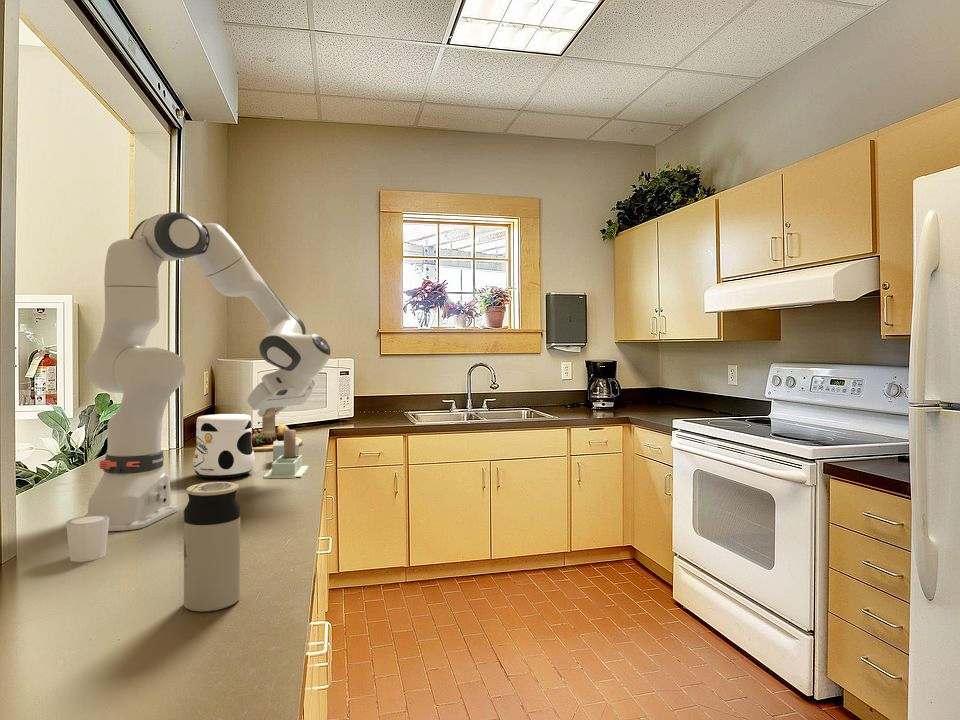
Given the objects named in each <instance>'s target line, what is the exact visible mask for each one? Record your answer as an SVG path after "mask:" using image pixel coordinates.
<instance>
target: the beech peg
mask: <svg viewBox="0 0 960 720" xmlns="http://www.w3.org/2000/svg"><path fill="white" fill-rule="evenodd" d="M266 412H267V414H266V415H265V416H262V417H261V418H262V419H261V420H262V423H261V425H262V437H275V432H276V415H275V408H268V410H266Z"/></svg>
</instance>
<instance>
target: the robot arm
mask: <svg viewBox="0 0 960 720" xmlns="http://www.w3.org/2000/svg"><path fill="white" fill-rule="evenodd" d="M105 258H106V259H105V264H104V276H103V277H104V279H103V280H104V282H103V283H104V284H103V285H104V323H103V329H102V332H101V335H100V336H101V337H100V339H99V342H98V345H97V347H96V348H95V350H94V351H92V353H91V354H90V355H89V356H88V358H87V359H86V361H85V364H84V375H85V378H86V380H87V381H88V382H89V384H90V385H92V386H93V387H95V388H97V389H100V390H102V391H105V392H108V393H113V394H115V393H116V394H122V397H121V402H120V405H119V406H118V407H119V408H118V409H117V411H116V412H115V413H114V414H113V415H112V416H110V418H109V419H108V422H107V454H105V457H104V458H105V459H104V460H103V459H102V460H100V461H99V463H98V468H99V470H102V472H103V474H102V476H101V477H100V479H99V481H98V482H97V485H96V487H95V488H94V490H93V491H92V493H91V495H90V497H89V498H88V505H87V513H86V514H85V515H84V516H91V515H104V516H108V517H109V526H108V532H116V531H117V532H118V531H129V530H130V531H131V530H137V529H143V528H145V527H147V526H149V525H152V524H154V523H155V522H158V521H160V520H162V519H164V518H166V517H168V516H170V515H173V514H174V513H177V512H178V506H176V505H173V504H172V494H171V493H172V492H171V483H170V482H171V480H170V479H171V478H170V476H169V474H167V473H166V472H165V470H164V469H163V466H164V459H165V458H164V457H165V456H164V451H163V450H162V430H163V418H164V413H165V409H166V407H167V404H168V402H169V400H170V398H171V396H172V395H173V394H174V392H175V391H176V390H177V389H178V388H180V386H181V385H182V384H183V382H184V380H185V375H186V368H185V364H184V361H183V359H182V358H181V356H180V355H178V354H177V353H176V352H174V351H171V350H168V349H163V348H161V347H149V346H148V347H146V343H147V340H148V336H149V334H150V333H151V331H152V329H153V328H154V327H156V325H158V323H159V321H160V290H159V288H160V287H159V286H160V285H159V276H158V275H159V270H160V267H161V265H162V264H163V262H166V261H167V262H175V261H178V260H182V259H187V258H189V259H191V260H193V262H195V263H196V264H197V265H198V266H199V269H201V272H203V274H204V275H205V277H206V278H207V280H208V282H209V283H210V284H211V286H212V287H213V288H214V289H215V290H216V291H217V292H218V293H220V294H221V295H222V296H225V297H229V298H238V297H239V298H240V297H244V298H247V299H249V300H250V301H251V302H252V304H253V305H254V306H255V307H256V308H257V310H259V312H260V313H261V314H262V316H264V318H265V320H266V322H267V328H268V329H267V330H266V333H265V334H264V336H263V337H262V339H261V342H260V343H259V354H260V356H261V357H262V359H263V360H264V361H265V362H266V363H269V365H271V366H274V367H277V368H279V369H278V370H275V371H272V372H270V373H266V374H264V375H263V376H262V377H261V382H259V383H258V384H257V385H256V386H255V387H254V388H253V390H252V392H250V394H249V395H248V397H247V403H248V405H249V407H250V408H251V410H253V411H257V414H258V416H259V417H260V418H262V416H265V415H266V414H267V412H266V410H268V408H275V416H276V415H277V416H278V415H279V414H280V412H282V411H284V409H287V407H291V406H293V407H294V406H301V405H303V404H304V403H306V402H307V400H308V399H309V397H310V395H311V394H312V393H313V388H314V386H315V385H316V384H315V382H316V381H314V380H313V379H314V378H315V377H317V376H318V375H319V373H321V371H322V370H323V369H324V368H325V366H326V364H327V363H328V361H329V359H330V358H331V357H330V356H331V347H330V345H329V343H328V341H327V340H326V339H325V338H324V337H322V336H321V335H319V334H317V333H313V334H307V333H306V330H307V329H306V327H305V323H304V322H303V321H302V320H301V318H300V317H298V316H297V315H296V314H294V313H293V312H292V311H290V310H289V309H288V308H287V307H286V306H285V304H284V303H283V302H282V301H281V300H280V298H279V297H278V296H277V294H276V293H275V292H274V290H273V289H272V288H271V286H270V285H269V284H268V282H266V280H265V279H264V278H263V277H262V276H261V275H260V274H259V272H257V270H256V269H255V267H253V264H251V262H250V261H249V260H248V258H247V256H246V254H245V253H244V252H243V250H242V249H241V248H240V246H239V245H238V243H237V242H236V241H235V240H234V238H233V237H232V236H231V235H230V234H229V233H228V232H227V231H226V230H225V228H223V226H221V225H220V224H218V223H215V222H206V223H201V222H200V221H198V220H197V219H195V218H194V217H193V216H190V215H189V214H187V213H183V212H178V211H177V212H176V211H173V212H167V213H159V214H155V215H153V216H151V217H149V218H146V219H144V220H142V221H140V222H139V224H138V225H137V226H135V229H133V232H132V233H131V236H130V238H123V239H119V240H116V241H114V242H112V243H111V244H110V245H109V247H108V249H107V251H106V256H105Z"/></svg>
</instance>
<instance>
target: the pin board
mask: <svg viewBox="0 0 960 720" xmlns="http://www.w3.org/2000/svg"><path fill="white" fill-rule="evenodd" d="M296 437H297V431H296V429H290V430H284V455H281V456H279V457H278V458H277V460H275V461H274V462H273V461H272V463H271V468H270V470H269V471H267V472H266V473H265V474H264V475H263V477H262V478H263V479H297V478H296V477H301V478H303V476H304V475H305V473H306V472H307V471H308V469H309V467H310V465H303V454H299V455H296ZM306 470H307V471H306ZM303 474H304V475H303Z"/></svg>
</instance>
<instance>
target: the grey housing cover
mask: <svg viewBox="0 0 960 720" xmlns="http://www.w3.org/2000/svg"><path fill="white" fill-rule="evenodd" d="M281 455H284V441H274V442H273V451H272V463H273V462H274V461H275V460H277V458H278V457H279V456H281ZM296 455H300V454H299V444H298V440H297V441H296Z"/></svg>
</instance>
